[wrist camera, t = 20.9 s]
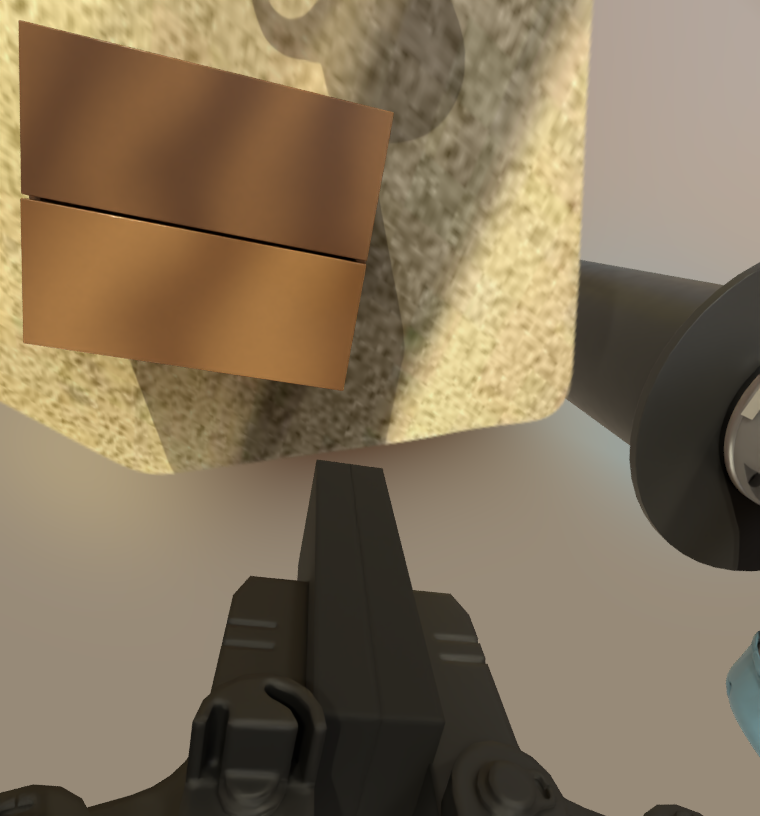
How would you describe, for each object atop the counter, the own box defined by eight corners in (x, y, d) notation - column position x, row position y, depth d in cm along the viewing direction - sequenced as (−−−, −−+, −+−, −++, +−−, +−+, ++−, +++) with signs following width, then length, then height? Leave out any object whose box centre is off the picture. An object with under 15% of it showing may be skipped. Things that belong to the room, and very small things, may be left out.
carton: (369, 142, 34) (395, 110, 23) (334, 342, 38) (343, 392, 27) (115, 82, 31) (16, 17, 21) (107, 304, 35) (21, 344, 25)
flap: (365, 263, 26) (366, 264, 25) (342, 388, 28) (343, 391, 27) (24, 197, 23) (19, 197, 23) (27, 341, 25) (22, 343, 25)
